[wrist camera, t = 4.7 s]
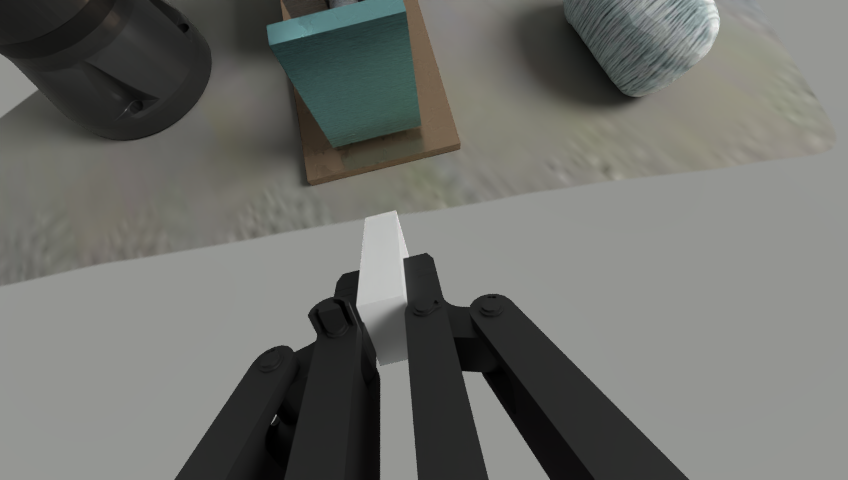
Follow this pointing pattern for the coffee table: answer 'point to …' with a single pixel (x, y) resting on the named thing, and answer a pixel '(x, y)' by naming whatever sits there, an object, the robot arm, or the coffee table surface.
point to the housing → (391, 147)
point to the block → (352, 68)
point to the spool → (645, 38)
